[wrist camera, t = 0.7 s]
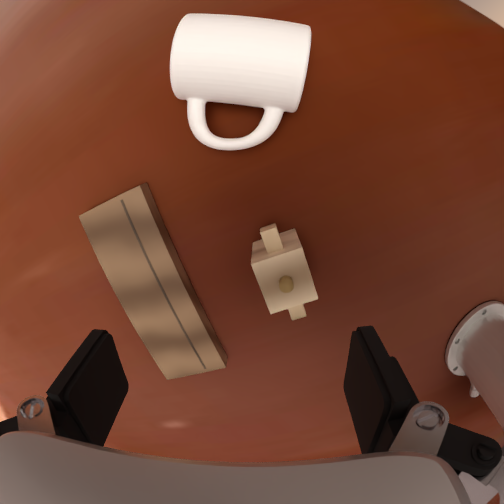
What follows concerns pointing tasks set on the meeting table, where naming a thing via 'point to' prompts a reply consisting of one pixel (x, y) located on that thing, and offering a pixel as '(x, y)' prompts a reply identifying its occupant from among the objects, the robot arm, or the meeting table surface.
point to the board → (153, 284)
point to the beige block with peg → (282, 271)
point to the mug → (238, 70)
